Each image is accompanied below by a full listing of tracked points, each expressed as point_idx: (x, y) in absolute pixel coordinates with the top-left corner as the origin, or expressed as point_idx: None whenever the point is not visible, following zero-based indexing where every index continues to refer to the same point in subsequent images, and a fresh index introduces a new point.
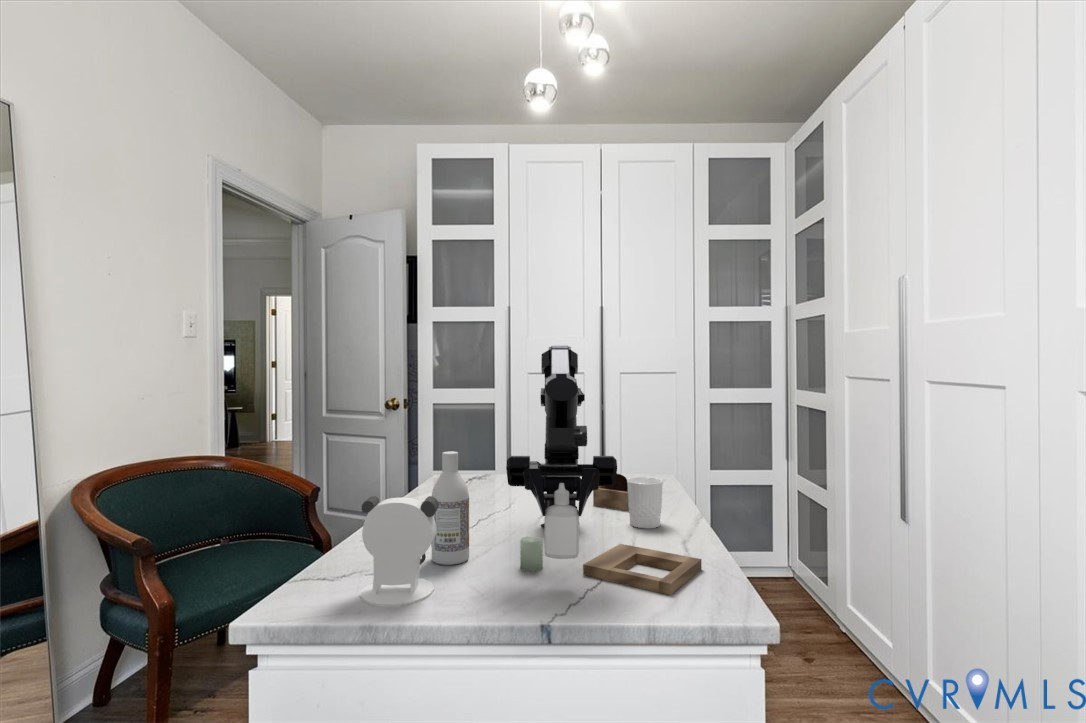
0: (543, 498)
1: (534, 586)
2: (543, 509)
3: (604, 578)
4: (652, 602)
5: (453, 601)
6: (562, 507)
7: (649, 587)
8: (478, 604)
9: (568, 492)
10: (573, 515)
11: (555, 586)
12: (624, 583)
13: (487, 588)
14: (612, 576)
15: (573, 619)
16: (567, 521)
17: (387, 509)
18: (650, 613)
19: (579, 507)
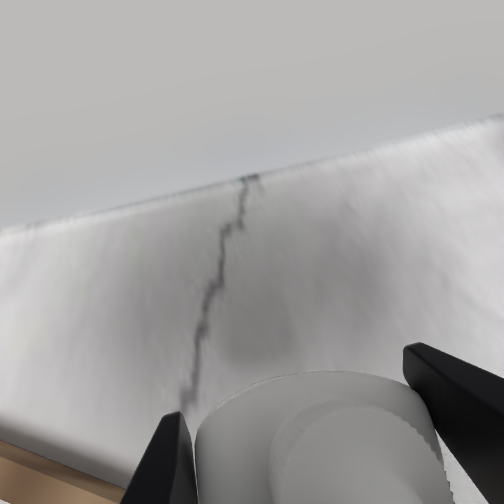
0: (499, 405)
1: None
2: (428, 353)
3: None
4: (13, 352)
5: (482, 230)
6: (304, 401)
7: (4, 445)
8: (422, 229)
9: (280, 497)
10: (221, 407)
11: None
12: (84, 474)
13: (456, 324)
14: (119, 495)
15: (199, 212)
16: (257, 385)
17: None
18: (27, 283)
19: (172, 438)
